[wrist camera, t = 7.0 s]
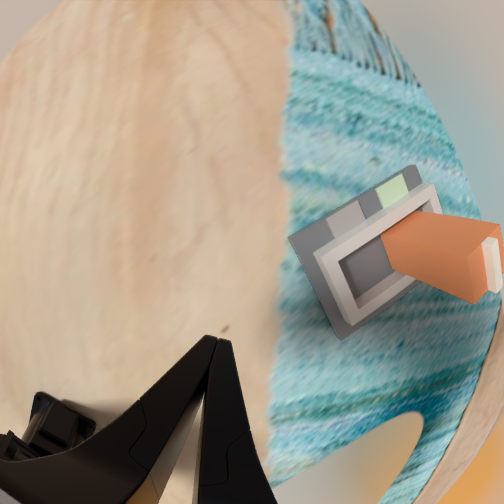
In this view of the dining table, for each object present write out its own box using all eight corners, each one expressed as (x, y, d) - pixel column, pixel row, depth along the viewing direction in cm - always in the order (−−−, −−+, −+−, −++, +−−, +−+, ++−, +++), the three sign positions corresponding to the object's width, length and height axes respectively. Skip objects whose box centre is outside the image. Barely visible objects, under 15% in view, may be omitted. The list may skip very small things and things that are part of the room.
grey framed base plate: (336, 336, 26) (348, 348, 24) (287, 237, 23) (298, 242, 21) (439, 260, 27) (455, 265, 24) (409, 164, 24) (426, 164, 22)
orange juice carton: (392, 268, 24) (483, 308, 14) (379, 232, 23) (476, 260, 14) (423, 245, 25) (514, 272, 15) (412, 210, 24) (509, 226, 14)
